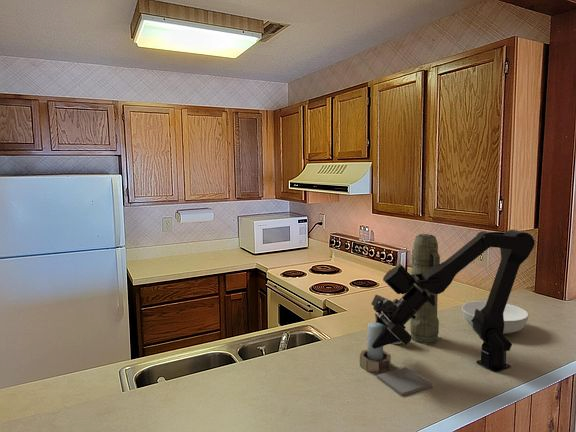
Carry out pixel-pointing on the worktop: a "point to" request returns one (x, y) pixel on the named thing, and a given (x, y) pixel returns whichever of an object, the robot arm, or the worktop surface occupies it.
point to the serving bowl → (512, 315)
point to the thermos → (426, 317)
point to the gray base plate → (404, 381)
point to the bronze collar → (375, 362)
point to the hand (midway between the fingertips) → (370, 343)
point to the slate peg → (373, 334)
